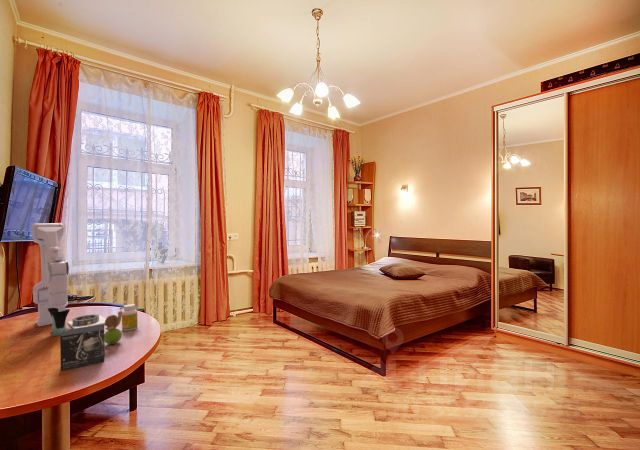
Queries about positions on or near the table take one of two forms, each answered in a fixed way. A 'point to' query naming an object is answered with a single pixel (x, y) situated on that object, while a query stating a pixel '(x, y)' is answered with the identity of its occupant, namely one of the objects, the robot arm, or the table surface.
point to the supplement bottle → (129, 317)
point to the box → (82, 346)
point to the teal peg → (56, 331)
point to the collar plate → (87, 321)
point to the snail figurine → (113, 328)
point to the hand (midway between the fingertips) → (58, 326)
